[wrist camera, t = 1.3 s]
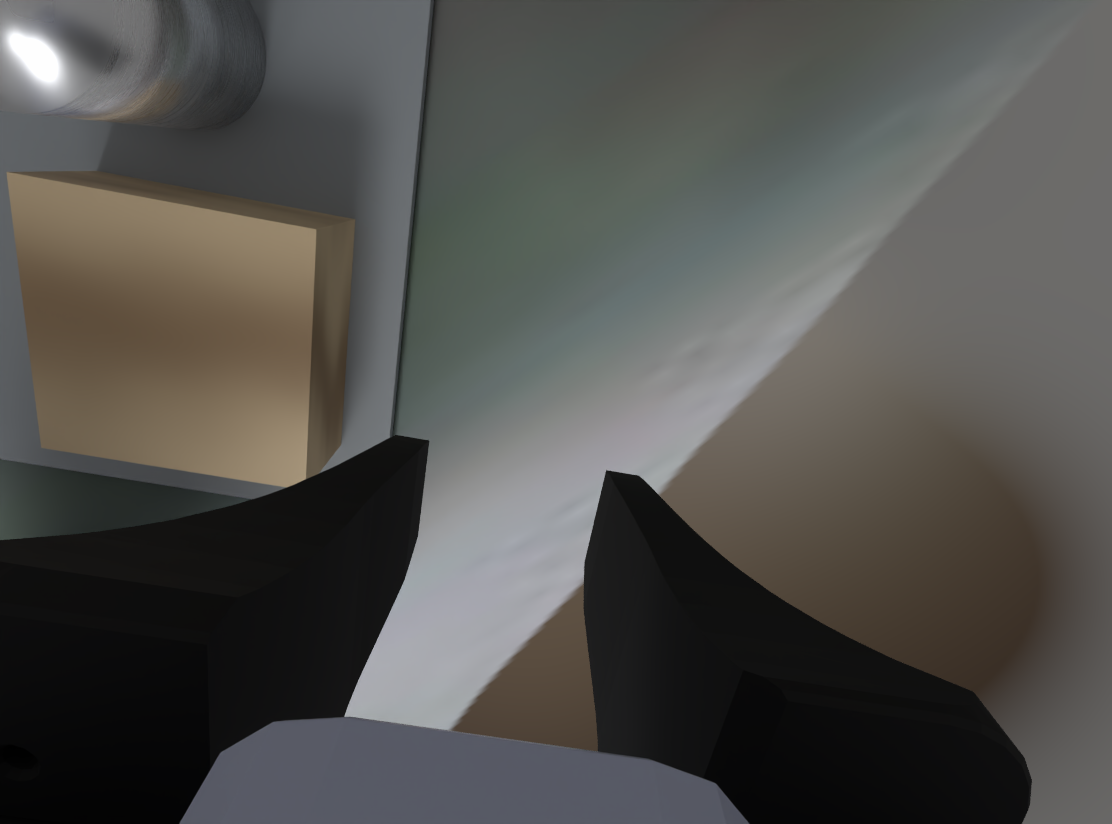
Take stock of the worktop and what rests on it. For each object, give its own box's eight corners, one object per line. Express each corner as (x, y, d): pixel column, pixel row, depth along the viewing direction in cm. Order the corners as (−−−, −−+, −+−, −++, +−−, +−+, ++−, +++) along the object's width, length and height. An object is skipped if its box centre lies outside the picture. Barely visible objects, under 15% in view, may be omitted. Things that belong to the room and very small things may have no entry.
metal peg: (265, 144, 17) (118, 133, 11) (111, 114, 17) (-117, 88, 11) (267, -31, 15) (100, -143, 10) (99, -67, 15) (-170, -201, 10)
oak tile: (341, 445, 20) (305, 490, 17) (115, 407, 20) (41, 447, 17) (355, 219, 18) (316, 229, 15) (96, 171, 17) (6, 171, 14)
